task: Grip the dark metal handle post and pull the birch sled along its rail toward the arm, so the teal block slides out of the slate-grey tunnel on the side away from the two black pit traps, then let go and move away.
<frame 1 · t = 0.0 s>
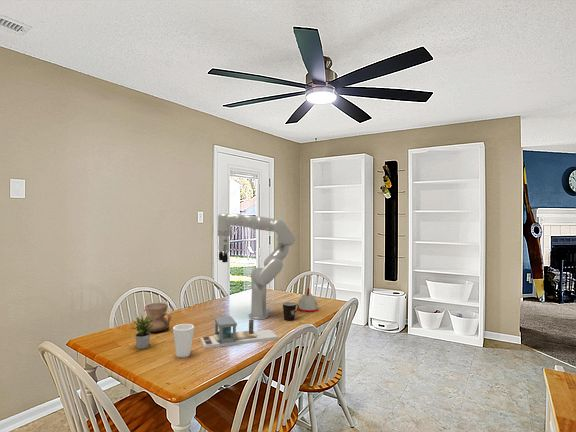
hand: (223, 261, 216), 37 cm above the table, tool pointing down, fingers open, 9 cm apart
grey service bell: (307, 310, 245), on the table
sled: (235, 329, 183), point 6 cm above the table, slide at 0.0 cm
foam cup: (183, 355, 163), on the table
ceramic jug: (156, 330, 196), on the table
coffee mug: (291, 319, 222), on the table
tunnel board: (224, 341, 181), on the table
house plant: (143, 348, 171), on the table
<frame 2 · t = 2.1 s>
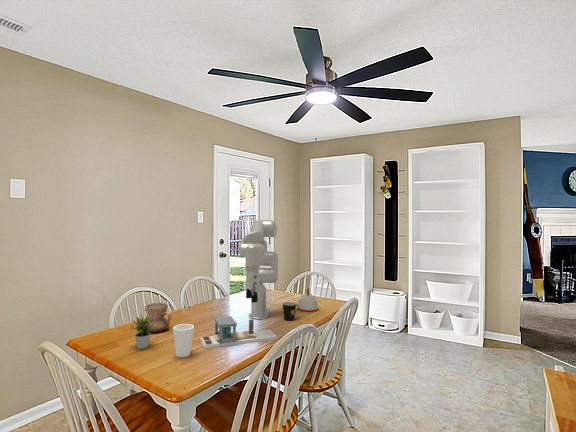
hand: (251, 300, 186), 20 cm above the table, tool pointing down, fingers open, 9 cm apart
nothing on the table moved.
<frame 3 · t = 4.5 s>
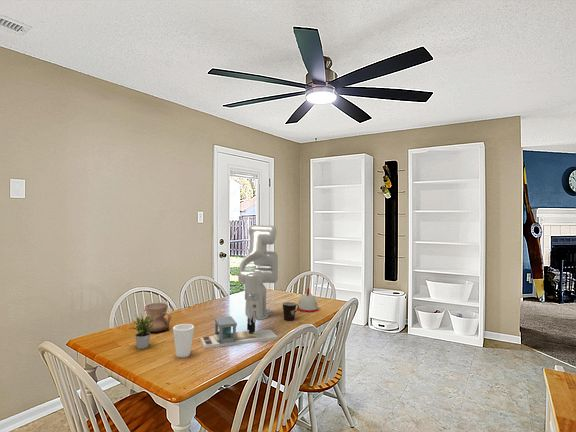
hand: (251, 330, 187), 4 cm above the table, tool pointing down, fingers closed on sled, 2 cm apart
sled: (235, 329, 183), point 6 cm above the table, slide at 0.0 cm, touching gripper
everything else where it was.
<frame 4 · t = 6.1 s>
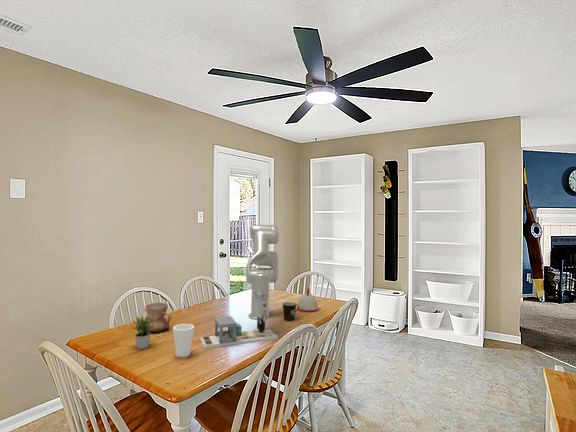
hand: (260, 329, 189), 4 cm above the table, tool pointing down, fingers closed on sled, 2 cm apart
sled: (245, 328, 185), point 6 cm above the table, slide at -5.5 cm, touching gripper
everything else where it was.
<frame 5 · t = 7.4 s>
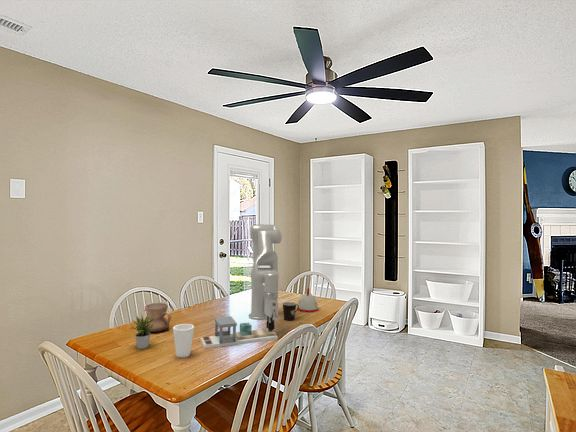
hand: (270, 328, 191), 4 cm above the table, tool pointing down, fingers closed on sled, 2 cm apart
sled: (255, 327, 187), point 6 cm above the table, slide at -10.9 cm, touching gripper
everything else where it was.
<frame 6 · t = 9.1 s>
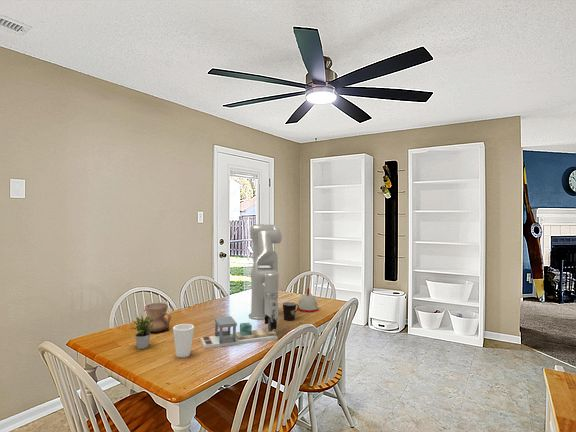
hand: (270, 326, 191), 5 cm above the table, tool pointing down, fingers open, 9 cm apart
sled: (255, 327, 187), point 6 cm above the table, slide at -11.0 cm
everything else where it was.
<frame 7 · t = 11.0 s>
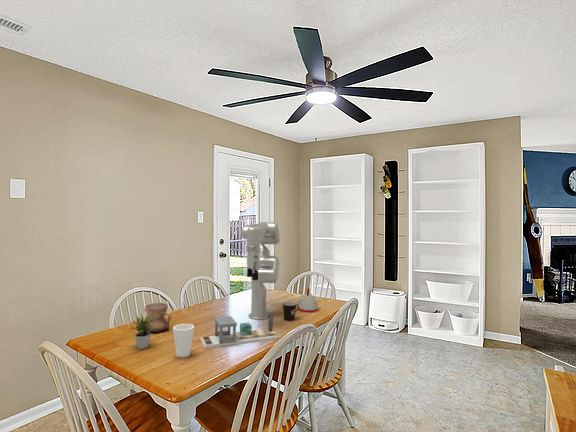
hand: (252, 278, 202), 29 cm above the table, tool pointing down, fingers open, 9 cm apart
nothing on the table moved.
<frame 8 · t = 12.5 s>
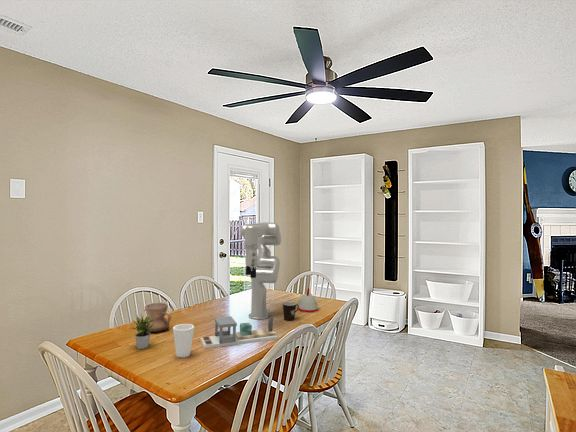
hand: (250, 276, 203), 30 cm above the table, tool pointing down, fingers open, 9 cm apart
nothing on the table moved.
at the end: sled slide at -11.0 cm; the gripper is holding nothing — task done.
